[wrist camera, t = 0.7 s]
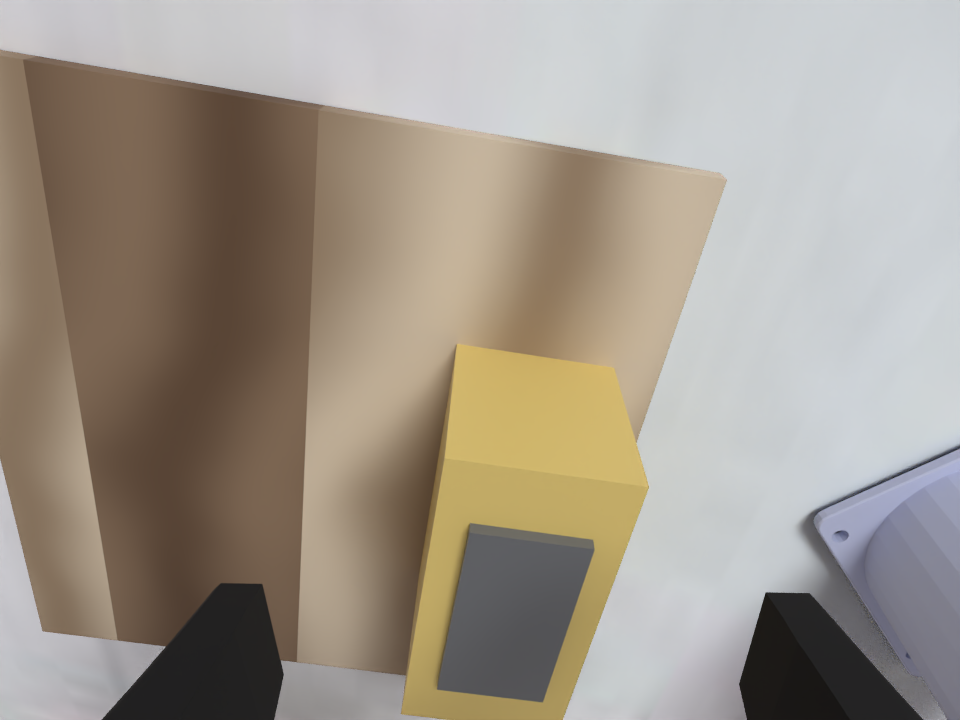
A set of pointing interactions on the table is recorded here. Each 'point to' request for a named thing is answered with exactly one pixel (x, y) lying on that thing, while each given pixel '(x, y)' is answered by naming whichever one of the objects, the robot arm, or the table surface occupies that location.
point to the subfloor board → (285, 337)
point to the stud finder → (520, 536)
